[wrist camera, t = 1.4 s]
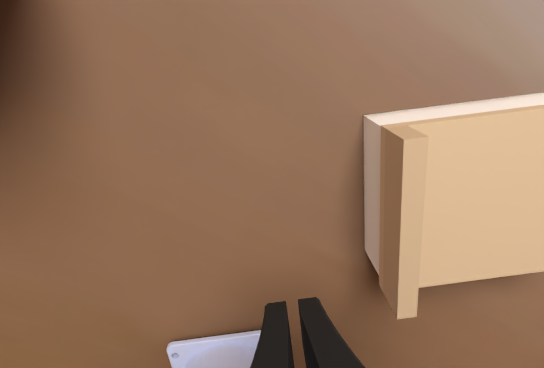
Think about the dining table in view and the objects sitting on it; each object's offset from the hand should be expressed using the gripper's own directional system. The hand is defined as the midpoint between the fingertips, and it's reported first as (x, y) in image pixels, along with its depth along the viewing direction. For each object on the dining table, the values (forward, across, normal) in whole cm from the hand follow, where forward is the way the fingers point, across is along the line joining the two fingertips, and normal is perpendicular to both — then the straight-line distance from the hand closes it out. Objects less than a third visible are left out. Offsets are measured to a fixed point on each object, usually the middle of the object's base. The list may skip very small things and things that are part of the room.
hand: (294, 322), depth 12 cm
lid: (+7, -11, 0) cm, 13 cm away
